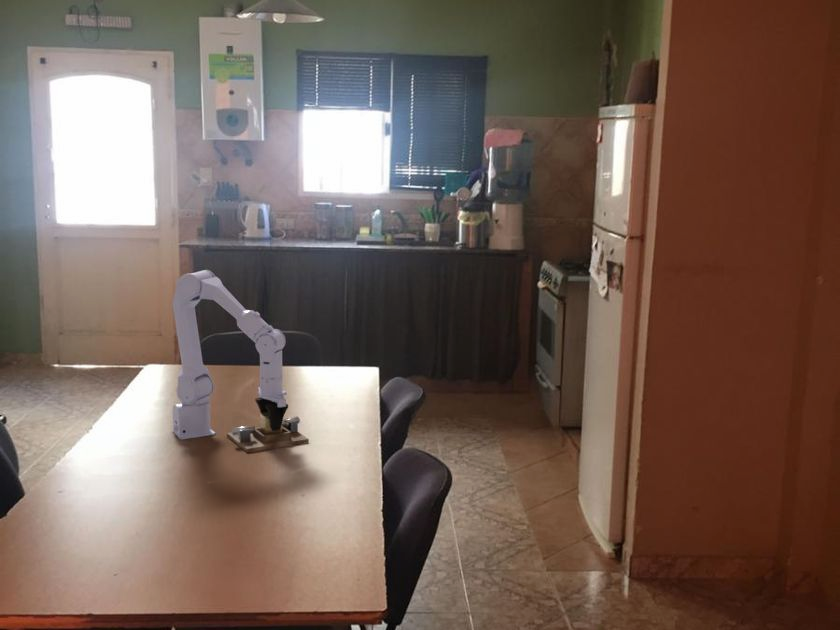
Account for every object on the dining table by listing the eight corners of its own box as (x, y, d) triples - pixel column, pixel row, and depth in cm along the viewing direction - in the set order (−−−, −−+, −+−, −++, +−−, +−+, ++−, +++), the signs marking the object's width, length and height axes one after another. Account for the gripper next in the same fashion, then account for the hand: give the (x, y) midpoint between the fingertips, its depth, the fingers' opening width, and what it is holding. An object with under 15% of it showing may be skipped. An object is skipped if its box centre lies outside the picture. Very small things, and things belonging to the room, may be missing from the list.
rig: (246, 452, 220) (246, 441, 219) (226, 436, 232) (226, 425, 232) (308, 442, 229) (308, 431, 228) (286, 427, 241) (286, 417, 241)
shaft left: (233, 443, 224) (233, 429, 223) (231, 439, 227) (231, 425, 227) (255, 441, 226) (255, 428, 225) (253, 437, 229) (253, 424, 229)
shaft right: (292, 428, 238) (292, 415, 237) (302, 430, 236) (301, 417, 235) (279, 432, 234) (279, 419, 233) (289, 434, 232) (289, 421, 231)
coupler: (282, 436, 228) (282, 416, 227) (265, 438, 226) (266, 419, 224) (276, 429, 232) (276, 410, 231) (259, 431, 230) (260, 412, 229)
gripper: (296, 381, 222) (297, 432, 225) (275, 369, 234) (275, 417, 237) (270, 384, 219) (271, 436, 221) (250, 372, 231) (250, 421, 233)
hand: (271, 427), depth 229 cm, fingers closed on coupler, 5 cm apart
